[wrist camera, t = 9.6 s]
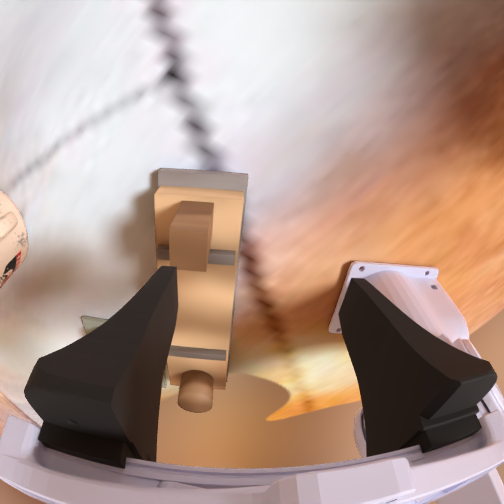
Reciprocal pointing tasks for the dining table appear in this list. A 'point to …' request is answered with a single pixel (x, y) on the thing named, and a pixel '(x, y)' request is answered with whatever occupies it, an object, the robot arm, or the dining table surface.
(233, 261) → the plane body
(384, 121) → the dining table surface
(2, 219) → the teacup with lid
